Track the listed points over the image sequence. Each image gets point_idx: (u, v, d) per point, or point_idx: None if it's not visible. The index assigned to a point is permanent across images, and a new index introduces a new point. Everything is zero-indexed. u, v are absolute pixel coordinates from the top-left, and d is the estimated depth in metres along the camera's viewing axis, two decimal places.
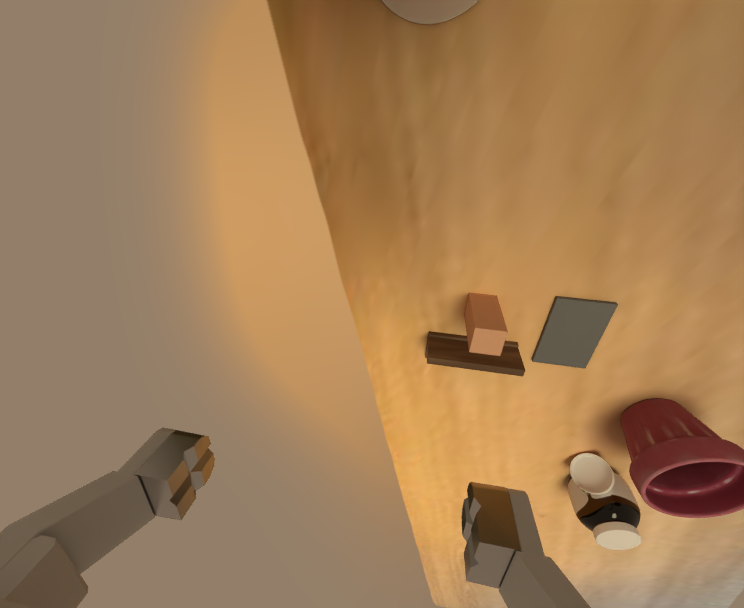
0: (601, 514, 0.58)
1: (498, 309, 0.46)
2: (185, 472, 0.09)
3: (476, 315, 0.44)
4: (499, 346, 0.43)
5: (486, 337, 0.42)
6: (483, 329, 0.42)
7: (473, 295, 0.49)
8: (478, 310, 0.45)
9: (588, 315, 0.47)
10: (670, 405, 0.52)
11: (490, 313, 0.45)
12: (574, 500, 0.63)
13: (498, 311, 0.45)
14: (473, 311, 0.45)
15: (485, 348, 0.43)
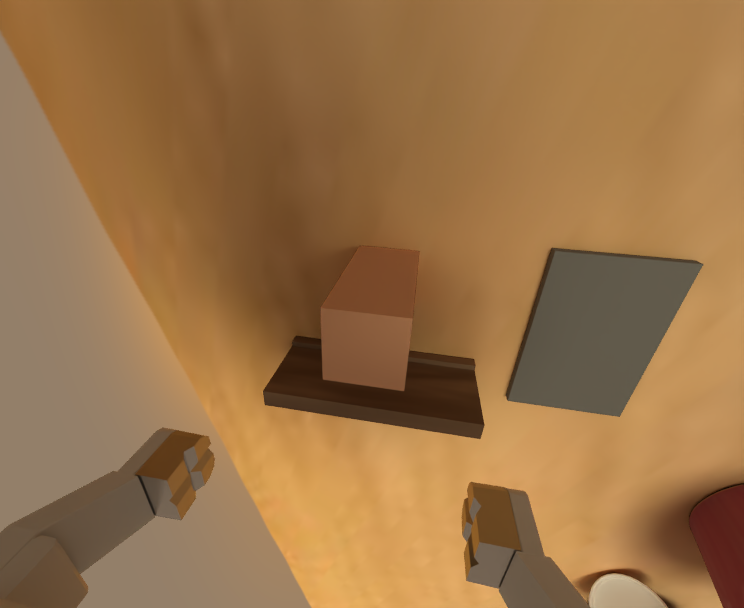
0: None
1: (412, 271, 0.18)
2: (185, 472, 0.09)
3: (344, 282, 0.17)
4: (399, 364, 0.15)
5: (357, 337, 0.15)
6: (345, 312, 0.14)
7: (365, 249, 0.21)
8: (358, 272, 0.18)
9: (629, 293, 0.20)
10: None
11: (386, 278, 0.17)
12: None
13: (409, 275, 0.18)
14: (344, 274, 0.18)
15: (361, 369, 0.15)
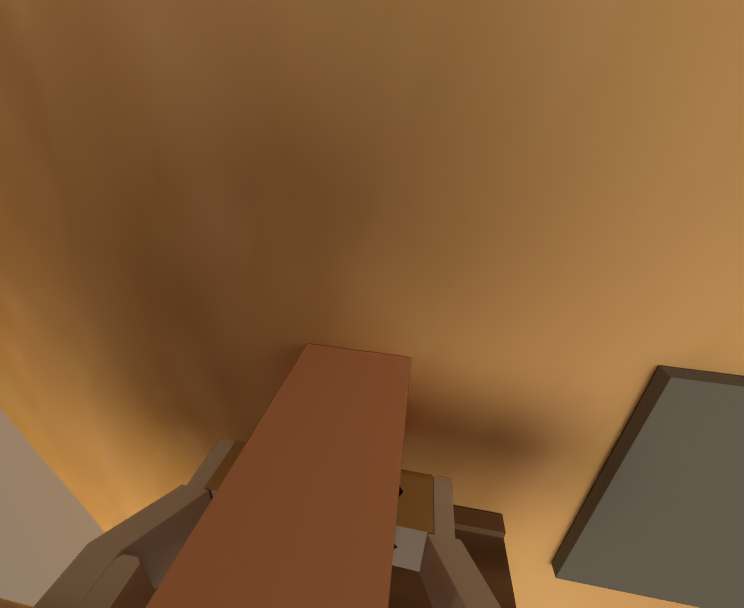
0: None
1: (393, 436, 0.09)
2: None
3: (231, 499, 0.07)
4: None
5: None
6: None
7: (314, 356, 0.12)
8: (278, 448, 0.08)
9: None
10: None
11: (333, 473, 0.08)
12: None
13: (385, 455, 0.08)
14: (244, 457, 0.08)
15: None
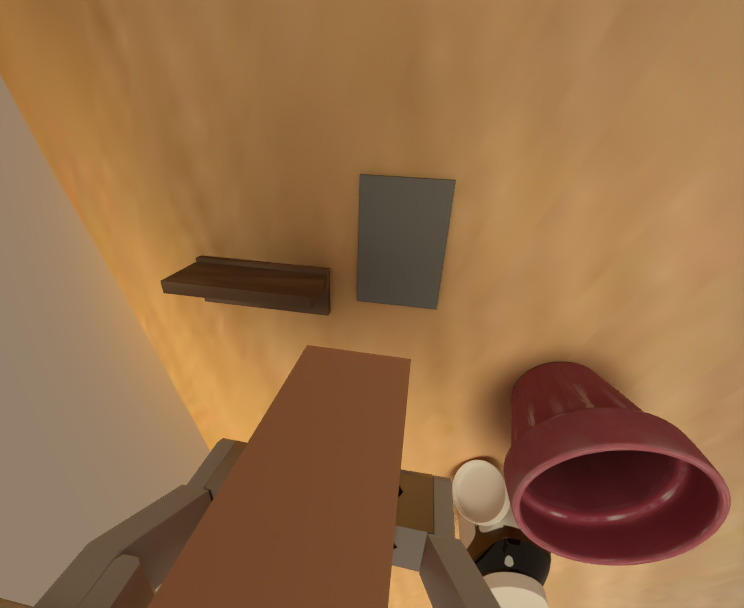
0: (487, 558, 0.36)
1: (393, 438, 0.09)
2: None
3: (230, 501, 0.07)
4: None
5: None
6: None
7: (314, 358, 0.12)
8: (277, 450, 0.08)
9: (415, 206, 0.28)
10: (574, 369, 0.32)
11: (333, 474, 0.08)
12: (461, 536, 0.41)
13: (384, 457, 0.08)
14: (244, 459, 0.08)
15: None
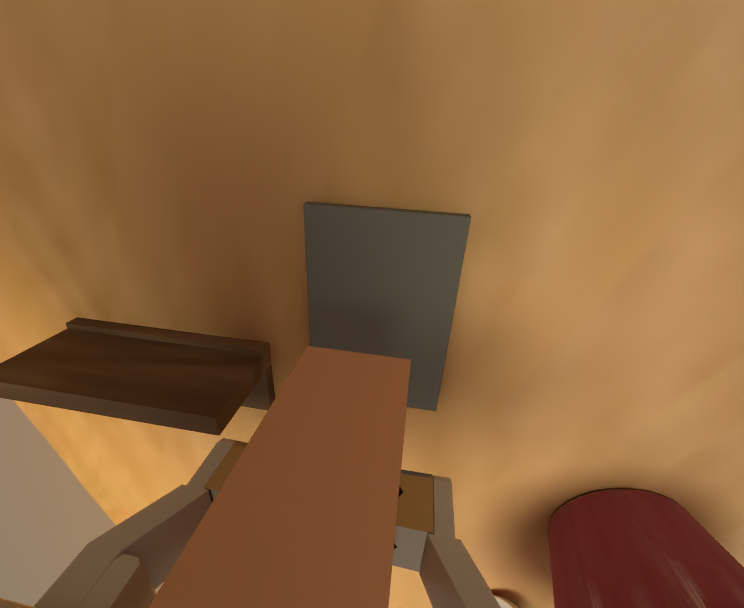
0: None
1: (393, 439, 0.09)
2: None
3: (231, 502, 0.07)
4: None
5: None
6: None
7: (314, 359, 0.12)
8: (278, 451, 0.08)
9: (400, 257, 0.16)
10: (657, 512, 0.20)
11: (333, 475, 0.08)
12: None
13: (384, 458, 0.08)
14: (244, 459, 0.08)
15: None
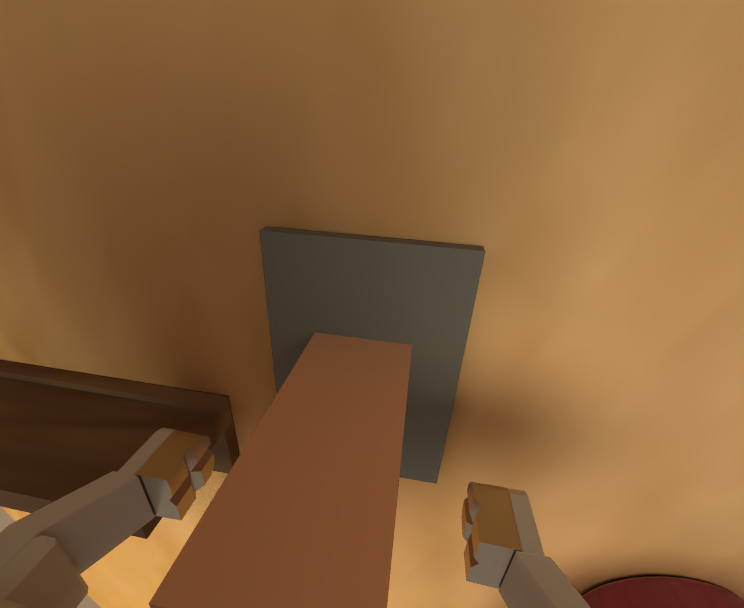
0: None
1: (396, 412, 0.10)
2: (185, 472, 0.09)
3: (251, 463, 0.08)
4: None
5: None
6: None
7: (321, 344, 0.13)
8: (291, 421, 0.09)
9: (390, 301, 0.12)
10: None
11: (342, 442, 0.09)
12: None
13: (388, 428, 0.09)
14: (262, 428, 0.09)
15: None
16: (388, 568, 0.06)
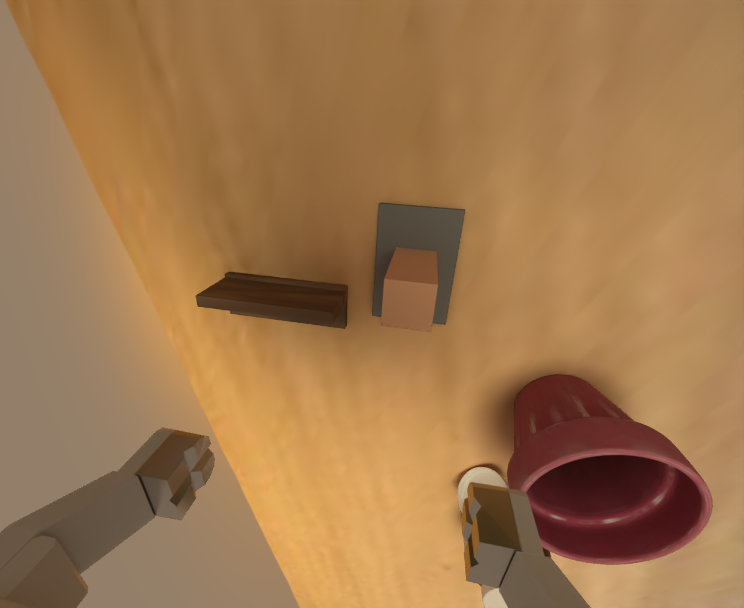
0: None
1: (434, 262, 0.29)
2: (185, 472, 0.09)
3: (393, 267, 0.27)
4: (428, 314, 0.25)
5: (404, 297, 0.25)
6: (398, 281, 0.25)
7: (400, 249, 0.32)
8: (400, 262, 0.28)
9: (428, 232, 0.32)
10: (572, 382, 0.34)
11: (418, 265, 0.28)
12: None
13: (432, 264, 0.28)
14: (392, 263, 0.28)
15: (405, 318, 0.26)
16: (437, 278, 0.25)
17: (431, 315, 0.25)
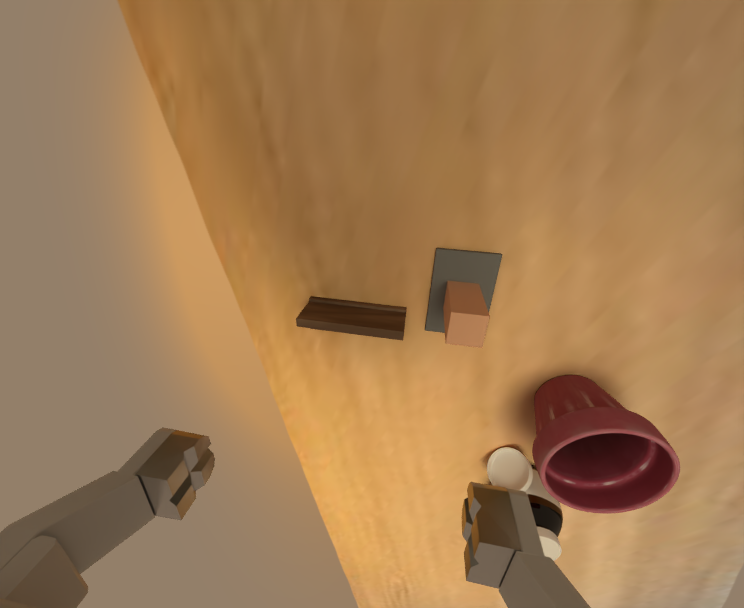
0: None
1: (480, 295, 0.39)
2: (185, 472, 0.09)
3: (453, 301, 0.38)
4: (481, 335, 0.36)
5: (464, 324, 0.35)
6: (461, 314, 0.35)
7: (452, 283, 0.42)
8: (456, 296, 0.39)
9: (473, 269, 0.42)
10: (580, 380, 0.45)
11: (470, 299, 0.38)
12: None
13: (479, 297, 0.39)
14: (450, 297, 0.39)
15: (464, 338, 0.36)
16: (487, 310, 0.36)
17: (483, 336, 0.36)
